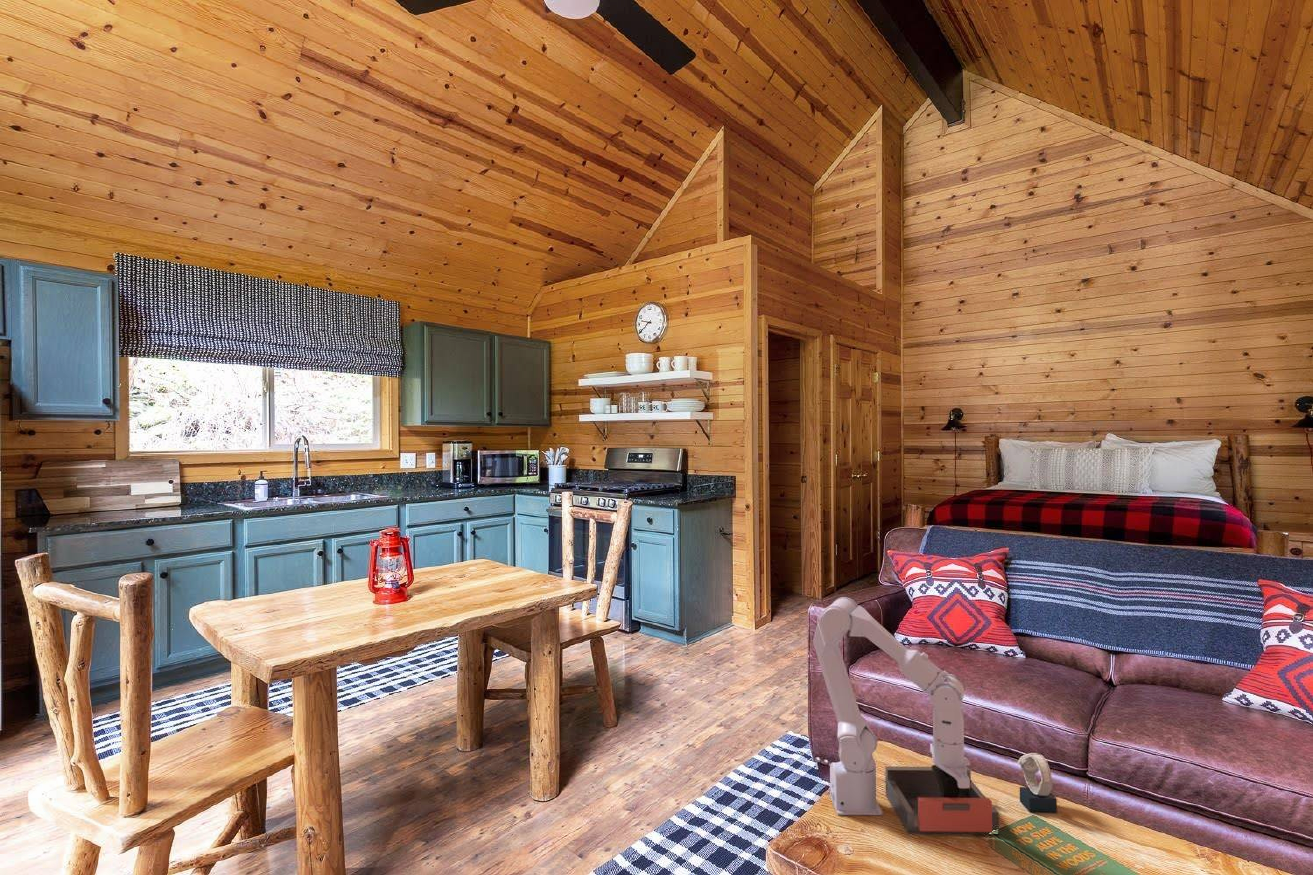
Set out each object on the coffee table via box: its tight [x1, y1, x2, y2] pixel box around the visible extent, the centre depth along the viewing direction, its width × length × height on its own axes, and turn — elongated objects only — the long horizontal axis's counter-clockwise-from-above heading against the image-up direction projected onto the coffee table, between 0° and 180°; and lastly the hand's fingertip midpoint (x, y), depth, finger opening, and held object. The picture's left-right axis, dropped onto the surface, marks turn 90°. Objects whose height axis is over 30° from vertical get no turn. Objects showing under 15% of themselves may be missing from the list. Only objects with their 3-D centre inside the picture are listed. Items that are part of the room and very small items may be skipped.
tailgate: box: [918, 797, 993, 832], centre depth 129 cm, size 14×2×6 cm, turn 88°
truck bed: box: [884, 765, 1000, 836], centre depth 137 cm, size 18×14×6 cm
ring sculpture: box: [1017, 752, 1058, 814], centre depth 139 cm, size 6×8×11 cm
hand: (949, 805), depth 132 cm, fingers closed
